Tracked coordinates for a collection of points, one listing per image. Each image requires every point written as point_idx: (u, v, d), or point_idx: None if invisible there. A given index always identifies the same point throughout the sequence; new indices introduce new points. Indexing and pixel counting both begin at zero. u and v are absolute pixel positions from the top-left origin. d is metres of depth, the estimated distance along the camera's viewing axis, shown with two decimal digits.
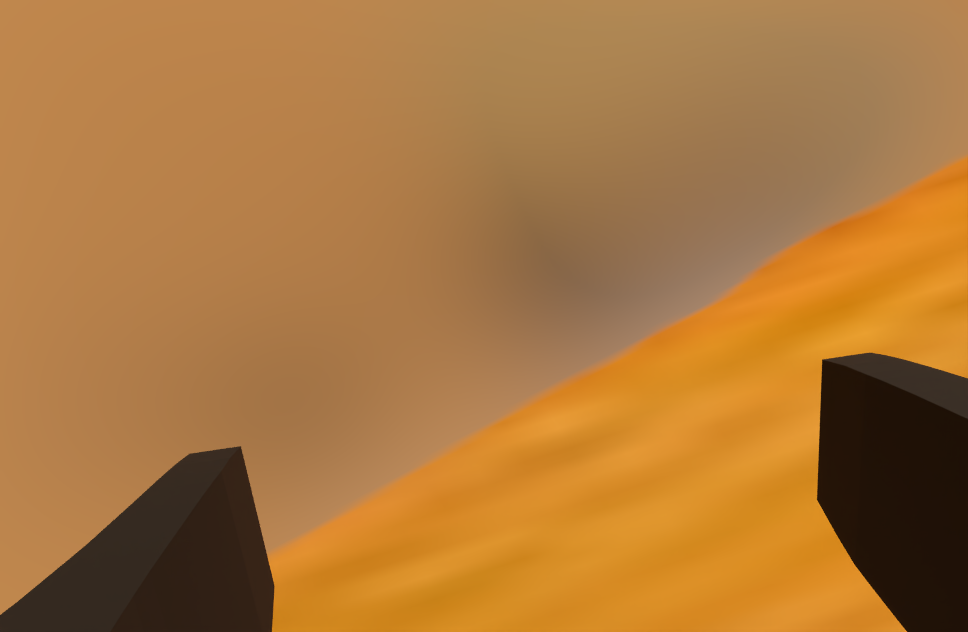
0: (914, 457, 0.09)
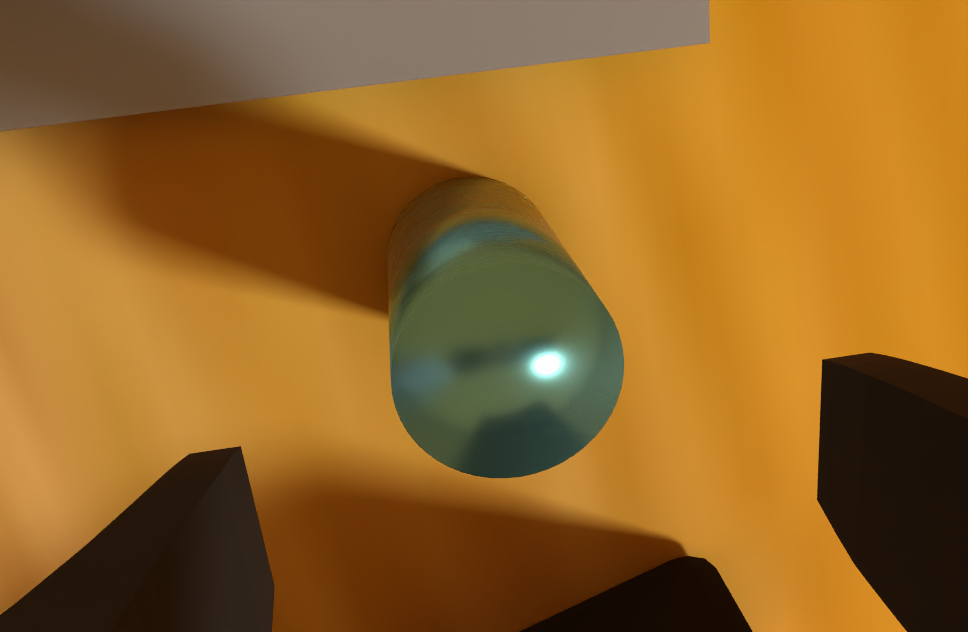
0: (914, 457, 0.09)
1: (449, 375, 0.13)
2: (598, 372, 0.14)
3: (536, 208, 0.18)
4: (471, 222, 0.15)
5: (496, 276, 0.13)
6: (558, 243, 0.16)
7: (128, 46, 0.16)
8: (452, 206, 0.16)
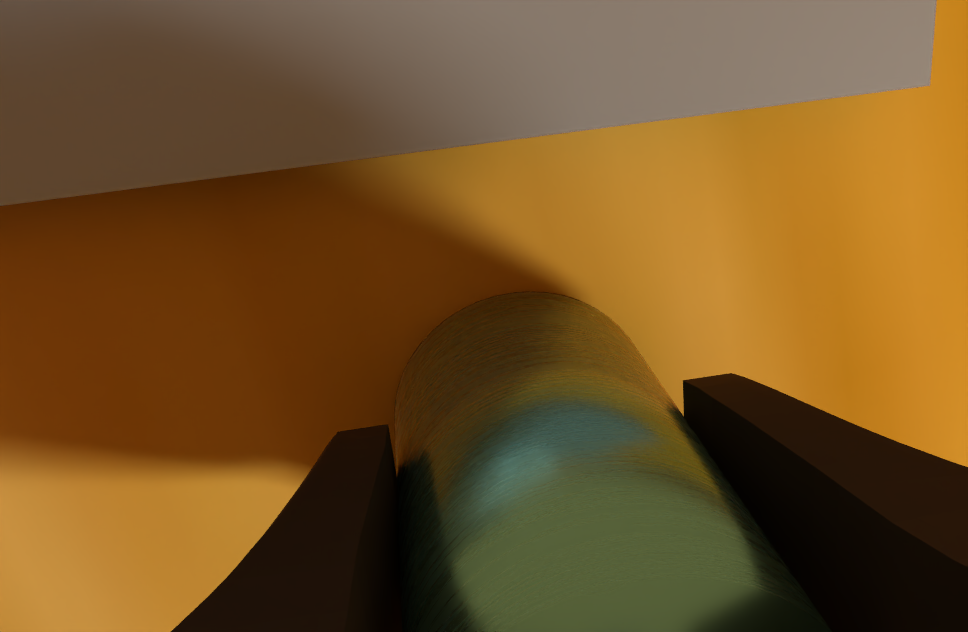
0: (750, 482, 0.09)
1: None
2: None
3: (630, 341, 0.12)
4: (549, 417, 0.08)
5: (629, 601, 0.06)
6: (698, 445, 0.09)
7: None
8: (507, 365, 0.10)
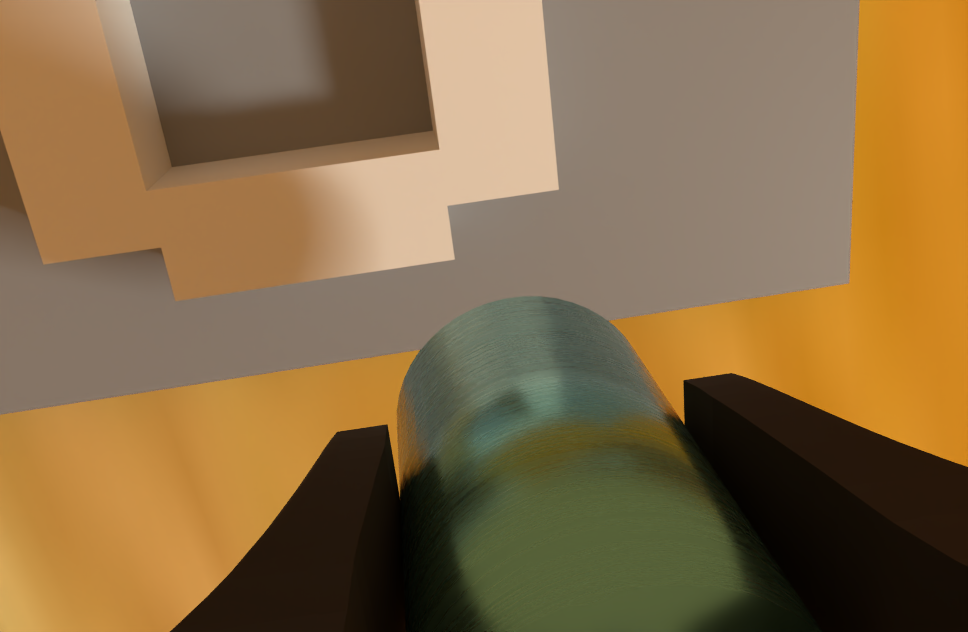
0: (750, 482, 0.09)
1: None
2: None
3: (625, 341, 0.12)
4: (541, 426, 0.09)
5: (617, 609, 0.06)
6: (690, 446, 0.09)
7: (348, 306, 0.18)
8: (500, 373, 0.10)
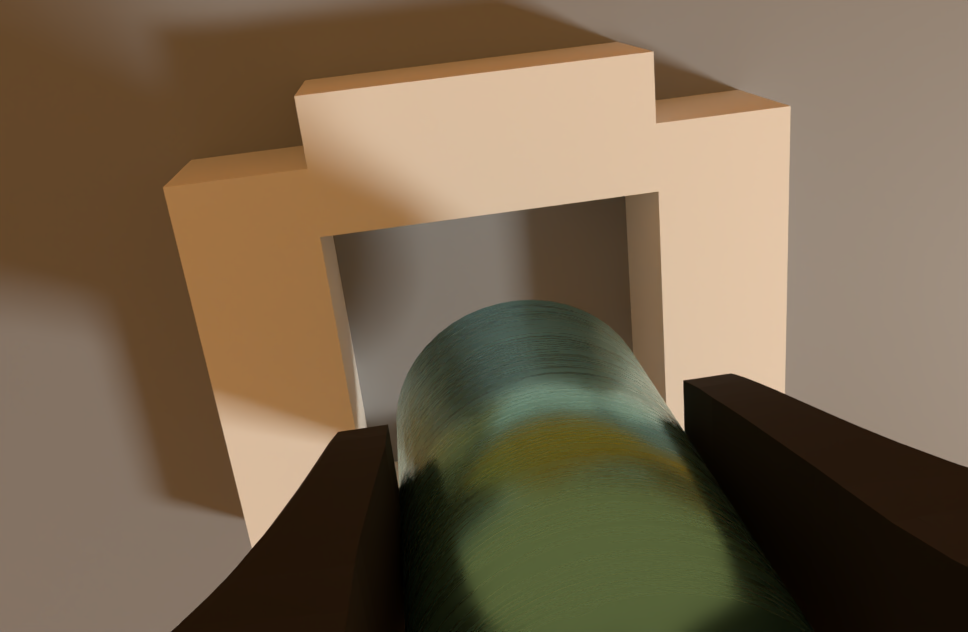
0: (750, 482, 0.09)
1: None
2: None
3: (620, 341, 0.12)
4: (533, 434, 0.09)
5: (606, 620, 0.06)
6: (683, 448, 0.09)
7: None
8: (493, 381, 0.10)
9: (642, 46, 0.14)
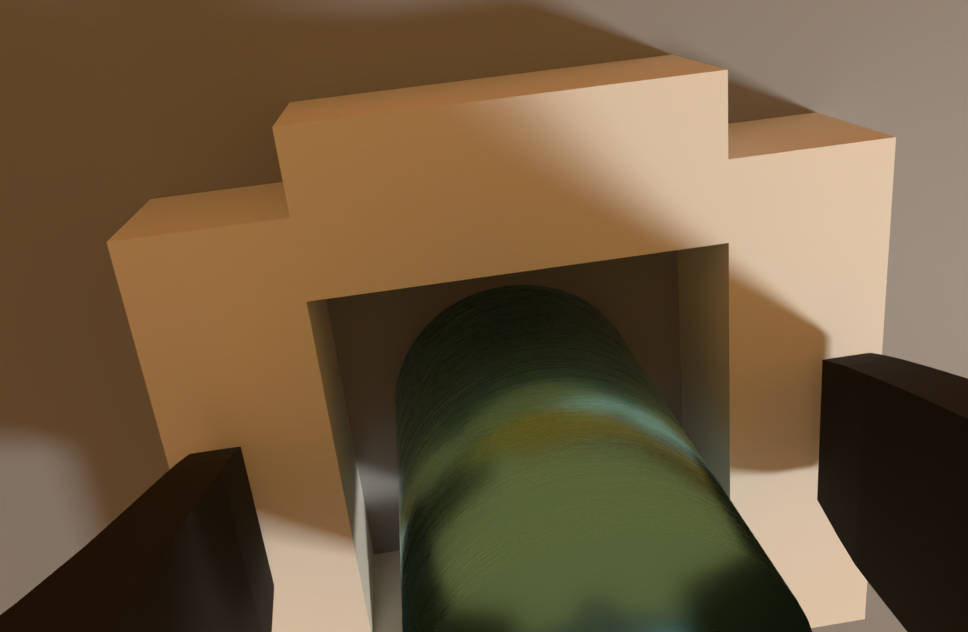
0: (914, 458, 0.09)
1: None
2: None
3: (609, 324, 0.12)
4: (521, 400, 0.09)
5: (584, 555, 0.07)
6: (664, 415, 0.10)
7: None
8: (486, 355, 0.10)
9: (702, 60, 0.12)
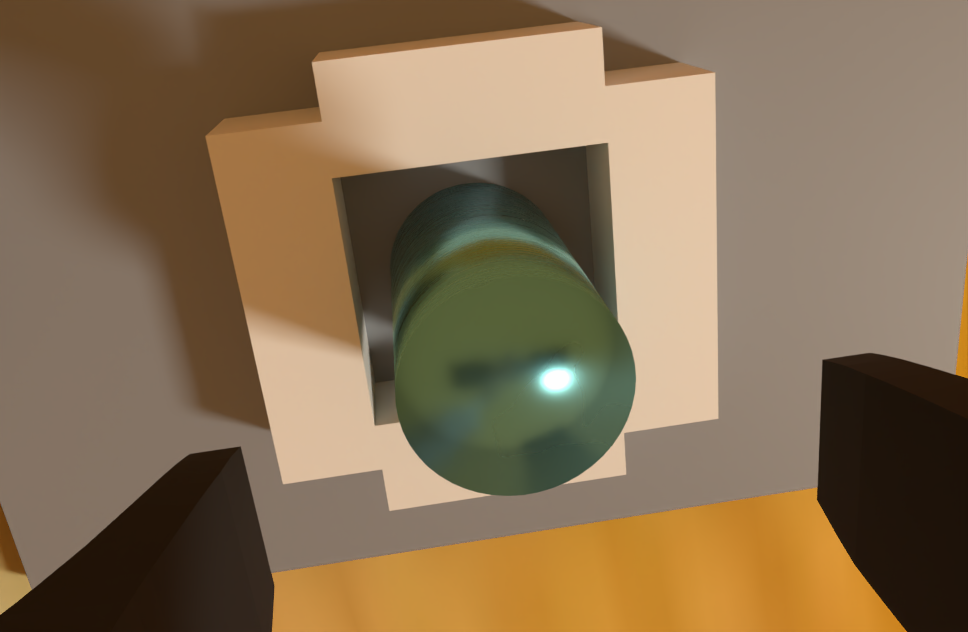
0: (914, 457, 0.09)
1: (456, 396, 0.13)
2: (609, 379, 0.13)
3: (538, 209, 0.18)
4: (469, 233, 0.15)
5: (494, 290, 0.12)
6: (560, 246, 0.15)
7: None
8: (449, 217, 0.16)
9: (598, 26, 0.17)
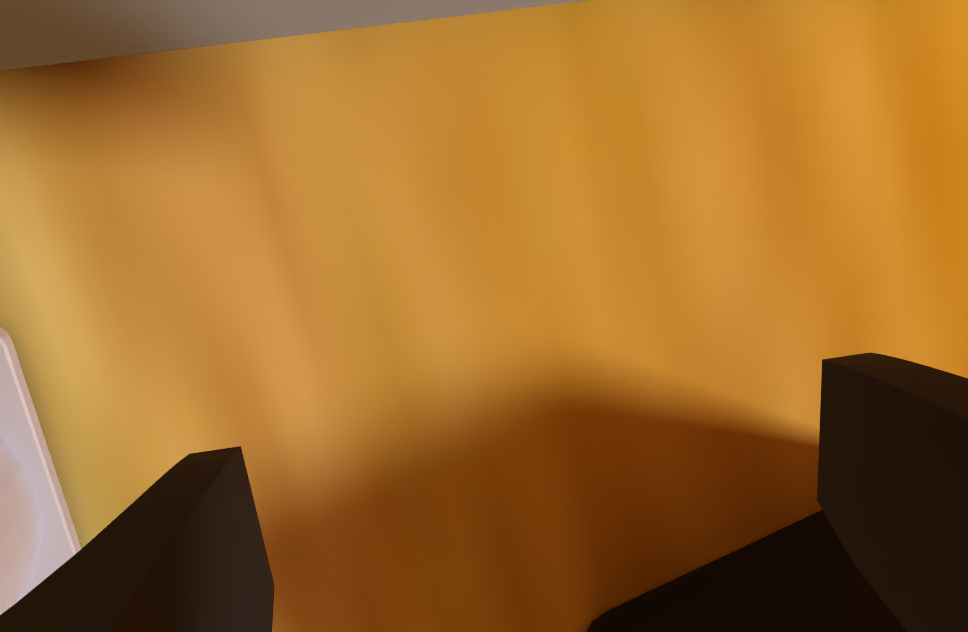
0: (914, 458, 0.09)
1: None
2: None
3: None
4: None
5: None
6: None
7: None
8: None
9: None
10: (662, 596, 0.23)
